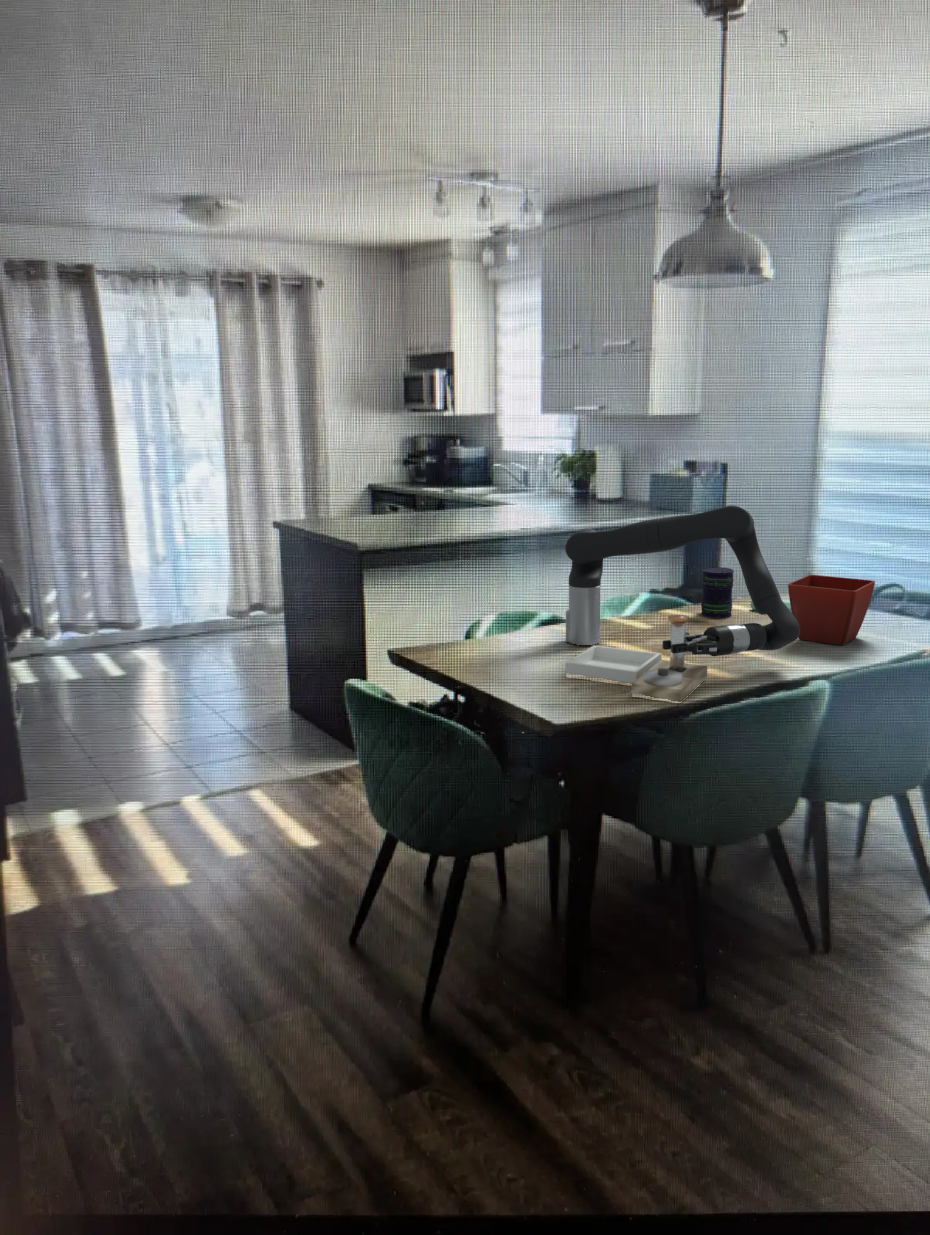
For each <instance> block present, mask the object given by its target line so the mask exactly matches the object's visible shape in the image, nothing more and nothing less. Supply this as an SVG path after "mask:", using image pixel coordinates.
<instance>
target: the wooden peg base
mask: <svg viewBox="0 0 930 1235" xmlns="http://www.w3.org/2000/svg"><path fill="white" fill-rule="evenodd" d="M706 679H707V680H708V665H702V664H695V663H687V662H684V671H683V672H677V671H674V670H670V660H662V659H661V661H660V662H658V663H657V664H656V665H654V666H653V667H652V668H651V669H649V670H648V671H646V672H644V674H643V675H641V676H640V677H639V678H638V679H636V680H635V681H634V682H632V685H631V687H630V688H631V690H630V693H633V694H642V695H645V696H650V697H654V698H662V699H668V700H671V701H678V702H681V701H683V700H684V699H685V698H686V697H687V696H688V695H689V694H690V693H691V692H692V691H694V689H695V688H696V687H697V686H698V685H699V684H701V683H702V682H703V681H705V680H706ZM707 680H706V681H707ZM703 683H704V682H703ZM703 683H702V684H703ZM702 684H701V685H702ZM694 692H695V691H694ZM686 699H687V698H686ZM686 699H685V700H686ZM685 700H684V701H685ZM684 701H683V702H684Z"/></svg>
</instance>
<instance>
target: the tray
mask: <svg viewBox="0 0 930 1235" xmlns="http://www.w3.org/2000/svg"><path fill="white" fill-rule="evenodd" d="M661 660H662V653H660V652H653V651H645V650H637V649H628V648H627V649H626V648H620V647H612V646H611V647H610V646H602V645H597V644H596V645H591V647H589V648H587V649H586V650H584V651H583V652H581V653H579V654H577V655H576V656H574V657H572V658H571V659H569V660H567V661H565V674H566V673H569V674H577V675H583V676H587V677H598V678H603V679H607V680H612V681H619V682H623V683H630V684H632V682H634V681H635V680H636V679H638V678H639V677H640V676H641V675H643V674H644V672H646V671H648V670H649V669H651V668H652V667H653V666H654V665H656V664H657V663H658V662H660V661H661Z"/></svg>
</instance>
